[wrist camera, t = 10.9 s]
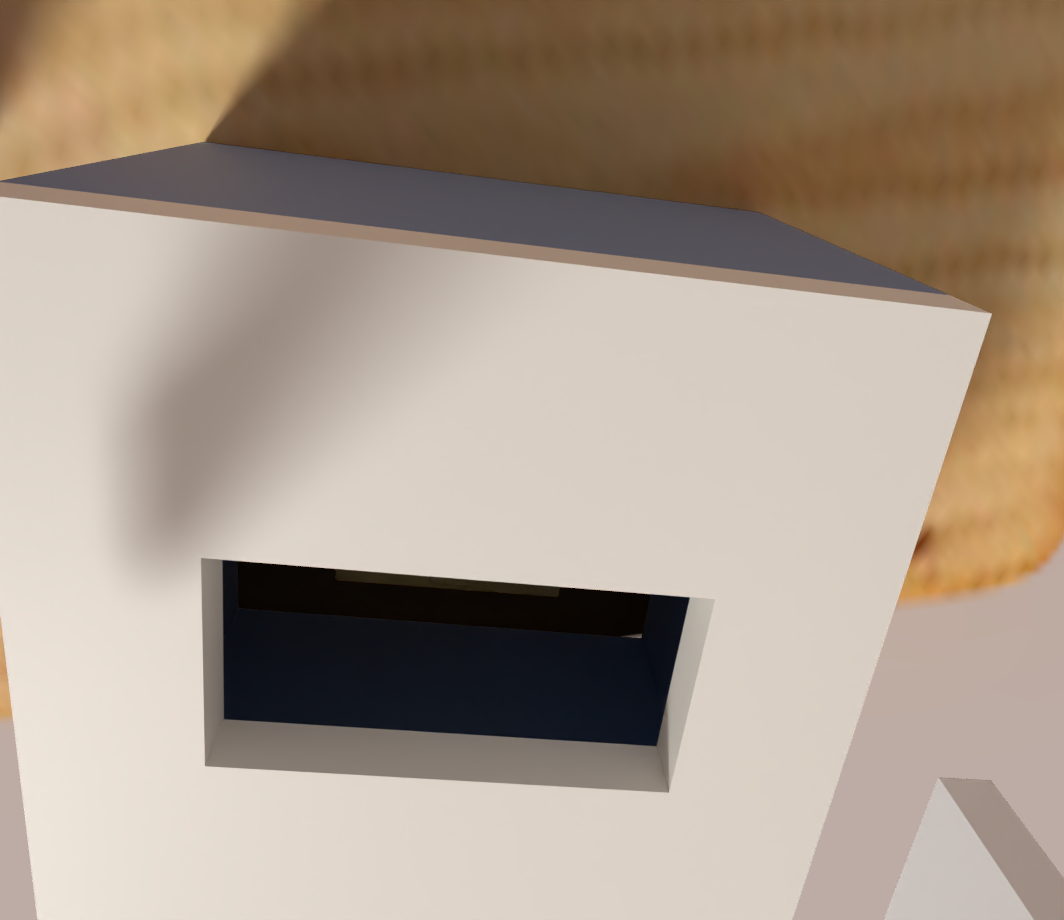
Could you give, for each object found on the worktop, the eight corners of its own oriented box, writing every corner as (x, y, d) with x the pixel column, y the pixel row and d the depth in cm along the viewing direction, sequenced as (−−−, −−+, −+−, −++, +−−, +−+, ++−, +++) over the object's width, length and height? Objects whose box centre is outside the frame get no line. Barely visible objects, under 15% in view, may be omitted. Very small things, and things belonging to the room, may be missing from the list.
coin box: (211, 628, 27) (42, 967, 16) (203, 141, 21) (-52, 190, 11) (661, 661, 28) (768, 992, 18) (759, 212, 23) (992, 314, 12)
